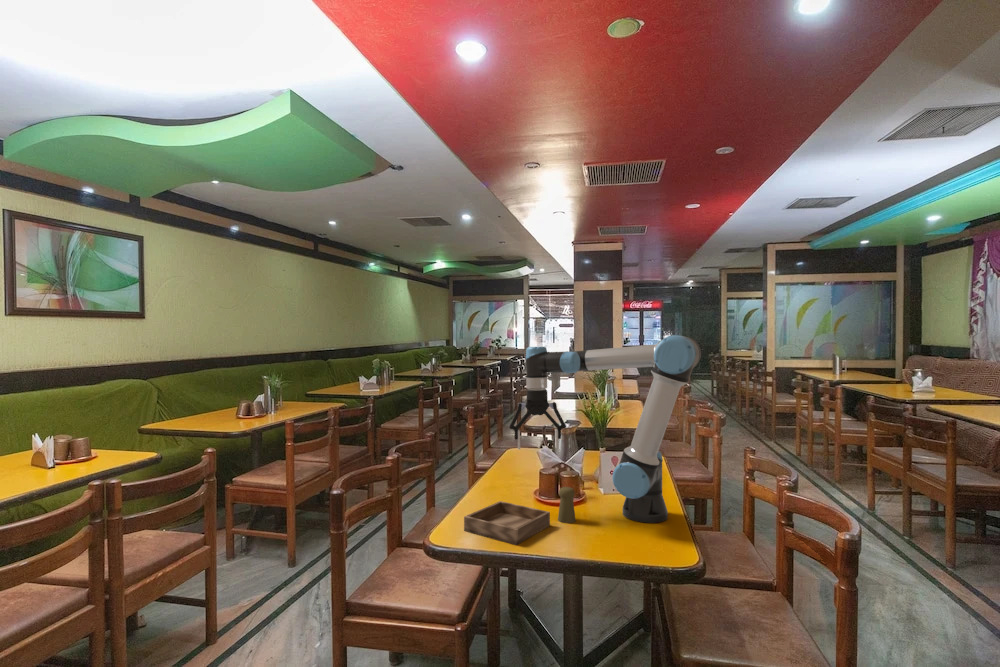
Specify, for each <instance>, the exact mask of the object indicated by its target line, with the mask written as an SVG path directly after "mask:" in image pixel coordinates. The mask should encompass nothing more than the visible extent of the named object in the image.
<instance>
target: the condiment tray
mask: <svg viewBox="0 0 1000 667" xmlns="http://www.w3.org/2000/svg"><path fill="white" fill-rule="evenodd" d="M550 526H551V512H550V511H546V510H542V509H538V508H535V507H529V506H524V505H520V504H516V503H511V502H506V501H501V500H500V501H498V502H494V503H492V504H490V505H488V506H486V507H483V508H481V509H479V510H477V511H473V512H471V513H470V514H467V515H465V516H464V517H463V531H464V532H468V533H470V534H474V535H478V536H481V537H485V538H488V539H491V540H496V541H498V542H499V541H500V542H503V543H507V544H509V545H510V544H511V545H514V546H517V545H520V544H521V543H523V542H525V541H526V540H528V539H530V538H531V537H533V536H535V535H536V534H538V533H540V532H541V531H544V530H545V529H547V528H548V527H550Z"/></svg>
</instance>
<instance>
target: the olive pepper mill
mask: <svg viewBox="0 0 1000 667" xmlns="http://www.w3.org/2000/svg"><path fill="white" fill-rule="evenodd" d="M558 495H559V497H560V501H559V507H558V516H557V521H558V522H559V523H562V524H573V523H575V522H576V521H577V520H576V513H575V505H574V497H575V490H574V489H573V488H572V487H570V486H563V487H561V488H559V490H558Z"/></svg>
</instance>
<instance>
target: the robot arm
mask: <svg viewBox="0 0 1000 667" xmlns="http://www.w3.org/2000/svg"><path fill="white" fill-rule="evenodd" d="M701 357H702V351H701V348H700V345H699V344H698V342H697V341H695V339H693V338H692V337H689V336H686V335H679V334H674V335H673V334H672V335H668V336H666V337H665V338H663V339H661V340H659V341H658V342H656V344H647V345H646V344H645V345H635V346H633V345H632V346H623V347H621V346H620V347H611V348H609V347H608V348H601V349H600V348H599V349H588V350H573V351H570V350H569V351H548V350H547V347H546V346H529V347H527V348H526V350H525V368H526V369H525V370H526V373H525V374H526V376H525V377H526V378H525V379H526V389H527V390H526V403H522V402H518V403H517V409H516V412H515V413H514V416H513V417H512V420H511V422H510V424H509V430H510V429H511V430H513V431H514V440H517V450H521V429H520V428H521V427H522V426H523V425H524V423H525V422H526V420H528V418H529V417H531V415H532V416H543V415H545V417H546V418H547V419H548V420H549V421H550V422H551V423H552V425H554V426H555V428H556V429H554V440H555V443H554V445H555V446H554V448H555V449H556V450H558V449H559V440H561V439H562V430H563V429H566V428H567V425H566V424H565V422H564V420H563V418H562V416H561V414H560V412H559V410H558V406H557V403H556V402H555V401H553V402H548V390H547V388H548V374H550V373H552V374H555V373H556V374H567V375H568V374H576V373H578V372H585V371H587V372H588V371H601V370H618V369H634V368H635V369H636V368H651V370H650V373H651V374H652V377H653V379H652V382H651V385H650V388H649V391H648V394H647V396H646V400H645V401H644V405H643V409H642V411H641V414H640V417H639V420H638V423H637V426H636V427H635V428H636V429H635V432H634V434H633V437H632V441H631V444H630V446H627V447H625V448H624V449H623V450H622V451H623V452H622V455H621V458H620V460H619V463H618V465H616V467H615V468H614V470H613V472H612V475H611V476H612V479H611V480H612V485H613V486H614V488H615V489H616V491H617V492H618V493H619V494H620V495H622V496H623V497H625V499H624V501H623V502H624V503H623V505H622V515H623V517H625V518H627V519H628V520H631V521H635V522H640V523H648V524H649V523H650V524H651V523H653V524H655V523H662V522H665V521H666V520H668V518H669V517H668V516H669V513H668V512H669V511H668V509H667V505H666V503H665V498H664V496H663V461H664V460H663V453H662V452H661V451H659V450H660V447H661V445H662V441H663V439H664V437H665V433H666V430H667V427H668V424H669V422H670V418H671V416H672V413H673V410H674V407H675V405H676V401H677V399H678V396H679V392H680V390H681V387H683V386H685V385H688V384H689V383H688V382H689V379H690V377H691V374H692V372H693V369H694V368H695V367H696V366H697V365H698V364H699V363H700V360H701ZM549 407H550V408H551V409H552V410H553V412H554V414H555V415H556V417H557V419H558V421H559V423H560V424H558V422H557V421H556V420H555V419H554V418H553V417H552V415H551V414H550V413H549V412H548V411H547V410H548V409H549ZM524 408H526V410H527V411H526V412H525V414H524V415H523V416H522V418H521V419H520V420H519V421H518V422H517V420H518V418H519V415H520V414H521V412H522V410H523V409H524ZM516 422H517V424H516Z"/></svg>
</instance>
